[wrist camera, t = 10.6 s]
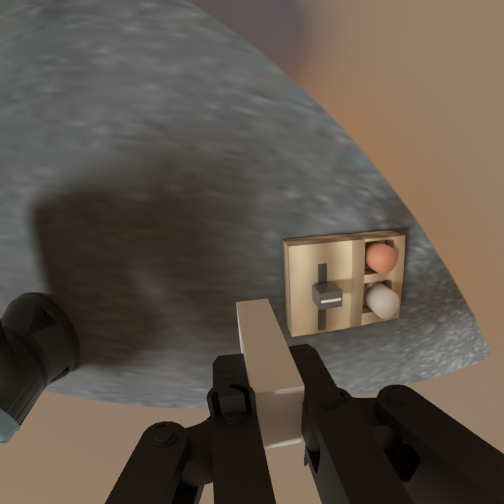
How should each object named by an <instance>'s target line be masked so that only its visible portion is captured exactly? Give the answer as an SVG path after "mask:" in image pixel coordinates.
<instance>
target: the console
mask: <svg viewBox="0 0 504 504" xmlns="http://www.w3.org/2000/svg"><path fill="white" fill-rule="evenodd" d="M371 241H379V242H381V243H384V244H386V245H388V246H390V247H392V248H393V249H394V250H395V251H396V253H397V263H396V265H395V267H394V268H393V270H392V271H390V272H389V273H387V274H380V273H378V272H376V271H375V270H373V269H372V268H370V267H369V266H367V265H366V264H365V246H366V245H367V244H368V243H369V242H371ZM282 243H283V262H284V283H285V306H286V324H287V326H288V329H289V331H290V334H291V336H292V337H295V336H302V335H309V334H315V333H321V332H328V331H334V330H339V329H345V328H350V327H356V326H361V325H366V324H371V323H376V322H381V321H386V320H390V319H395V318H399V310H400V302H401V293H402V282H403V270H404V255H405V235H402V234H400V233H397V232H394V231H392V230H386V231H374V232H363V233H351V234H339V235H328V236H317V237H306V238H295V239H284V240H282ZM329 282H335V283H336V284H337V285H338V286H339V287H340V288H341V289H342V290H343V297H342V307H336V308H329V309H323V310H319V309H318V307H317V306H316V304H315V303H314V301H313V300H312V285H313V284H321V283H329ZM378 283H380V284H383V285H385V286H386V287H388V288H389V289H390V290H392V291H393V292H394V293H396V294H397V295H398V297H399V307H398V309H397V311H396V312H395V313H394V314H393V315H392V316H390V317H388V318H381V317H379V316H378V315H377V314H376V313H375V312H374V311H373V310H372V309H370V308H369V307H368V306H367V304H366V302H365V296H366V293H367V291H368V289H369V288H370V287H371V286H373V285H375V284H378Z"/></svg>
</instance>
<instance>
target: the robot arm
mask: <svg viewBox="0 0 504 504" xmlns="http://www.w3.org/2000/svg"><path fill="white" fill-rule="evenodd" d="M236 307H237V317H238V327H239V337H240V347H241V354H233V355H223V356H218V357H217V358H216V360H215V361H214V363H213V388H212V389H211V390H210V391H209V392H208V395H207V402H208V407H209V411H210V416H209V418H207V420H205V421H203V422H202V423H200V424H197V425H195V426H192V427H188V428H184V427H183V426H181V425H180V424H178V423H175V422H165V421H164V422H159V423H155V424H153V425H152V426H150V427H148V428H147V429H146V431H145V432H144V433H143V435H142V437H141V438H140V440H139V442H138V444H137V446H136V447H135V449H134V451H133V453H132V455H131V457H130V458H129V460H128V462H127V464H126V466H125V467H124V469H123V471H122V473H121V475H120V477H119V478H118V480H117V482H116V484H115V486H114V488H113V490H112V491H111V493H110V495H109V497H108V499H107V500H106V502H105V504H199V501H200V498H201V495H202V492H203V488H204V485H205V484H208V483H212V482H213V489H214V504H276V501H275V497H274V493H273V488H272V483H271V478H270V474H269V470H268V465H267V460H266V455H265V450H264V448H272V447H278V446H284V445H289V444H295V443H301V442H302V435H303V438H304V441H305V455H304V466H306V465H307V464H308V463H309V467H310V469H311V472H312V475H313V479H314V481H315V484H316V487H317V490H318V493H319V496H320V499H321V502H322V504H504V454H503V453H502V452H500V451H499V450H497V449H496V448H494V447H493V446H491V445H490V444H488V443H487V442H486V441H484V440H483V439H481V438H480V437H479V436H477V435H476V434H474V433H473V432H471V431H470V430H469V429H467V428H466V427H464V426H463V425H462V424H460V423H459V422H457V421H456V420H455V419H453V418H452V417H450V416H449V415H448V414H446V413H445V412H443V411H442V410H441V409H439V408H438V407H436V406H435V405H434V404H432V403H431V402H429V401H428V400H427V399H425V398H424V397H422V396H421V395H420V394H418V393H417V392H415V391H414V390H413V389H411V388H409V387H407V386H404V385H399V384H398V385H389V386H386V387H384V388H383V389H381V390H380V391H379V393H378V396H377V398H354V397H351V395H350V394H349V393H348V392H347V391H346V390H343V389H341V388H338V387H337V386H336V384H335V382H334V381H333V379H332V377H331V375H330V374H329V372H328V370H327V368H326V367H325V365H324V363H323V361H322V360H321V359H320V356H319V354H318V353H317V351H316V349H314V348H313V347H311V346H310V345H308V344H303V345H297V346H290V347H288V346H287V343H286V341H285V339H284V336H283V334H282V332H281V329H280V327H279V325H278V322H277V320H276V317H275V315H274V313H273V310H272V308H271V306H270V303H269V301H268V299H260V300H251V301H241V302H236ZM78 356H79V344H78V340H77V336H76V334H75V331H74V329H73V327H72V325H71V323H70V322H69V320H68V319H67V317H66V316H65V314H64V313H63V312H62V311H61V310H60V309H59V308H58V307H57V306H56V305H55V304H54V303H53V302H51V301H50V300H48V299H47V298H45V297H43V296H41V295H38V294H34V293H26V294H22V295H20V296H19V297H17V298H16V299H15V300H13V301H12V302H11V303H10V304H9V305H8V307H7V309H6V311H5V312H4V314H3V316H2V318H1V320H0V444H5V443H7V442H8V441H9V440H10V439H11V437H12V436H13V435H14V433H15V432H16V431H18V430H19V428H20V426H21V424H22V423H23V421H24V419H25V418H26V416H27V415H28V413H29V411H30V410H31V408H32V407H33V405H34V404H35V402H36V401H37V399H38V398H39V396H40V395H41V393H42V392H43V390H44V389H45V387H46V386H48V385H49V384H51V383H53V382H55V381H57V380H59V379H61V378H63V377H64V376H66V375H67V374H68V373H69V372H70V371H71V370H72V368H73V367H74V366H75V364H76V362H77V360H78Z"/></svg>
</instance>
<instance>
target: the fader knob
mask: <svg viewBox="0 0 504 504" xmlns="http://www.w3.org/2000/svg"><path fill="white" fill-rule="evenodd" d="M342 297H343V290H342V289H341V288H340V287H339V286H338V285H337V284H336V283H335V282H329V283H321V284H313V285H312V300H313V301H314V303H315V304H316V306H317V307H318V309H319V310H323V309H329V308H336V307H342Z"/></svg>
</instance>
